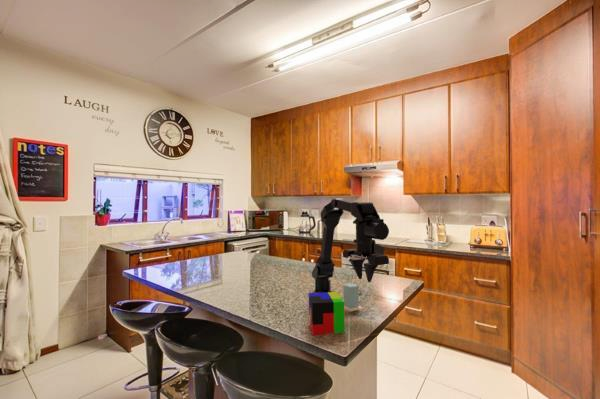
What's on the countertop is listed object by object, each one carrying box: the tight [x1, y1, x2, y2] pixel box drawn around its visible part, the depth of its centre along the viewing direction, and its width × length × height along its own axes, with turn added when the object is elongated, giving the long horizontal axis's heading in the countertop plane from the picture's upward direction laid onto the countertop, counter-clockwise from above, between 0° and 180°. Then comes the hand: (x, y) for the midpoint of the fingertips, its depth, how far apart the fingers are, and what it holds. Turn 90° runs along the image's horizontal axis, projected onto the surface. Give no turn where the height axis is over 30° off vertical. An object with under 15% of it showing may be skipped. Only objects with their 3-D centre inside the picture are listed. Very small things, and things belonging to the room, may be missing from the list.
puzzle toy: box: [308, 291, 346, 336], centre depth 94 cm, size 10×10×10 cm
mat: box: [341, 297, 366, 315], centre depth 113 cm, size 14×10×1 cm
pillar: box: [343, 282, 360, 312], centre depth 109 cm, size 4×4×9 cm
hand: (364, 280), depth 102 cm, fingers open, 5 cm apart
